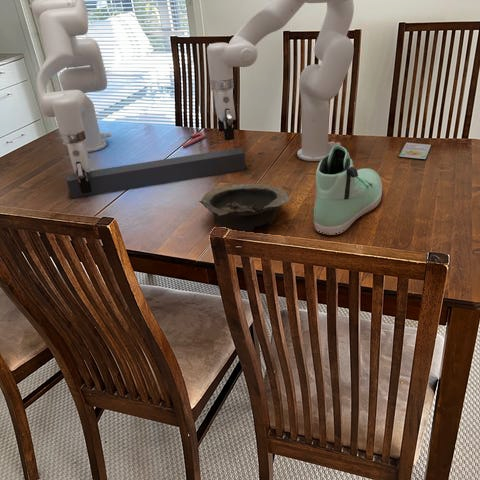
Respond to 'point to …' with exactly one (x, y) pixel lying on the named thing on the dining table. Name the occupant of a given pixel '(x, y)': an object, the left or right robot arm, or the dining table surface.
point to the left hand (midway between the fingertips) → (86, 188)
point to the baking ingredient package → (415, 150)
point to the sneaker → (343, 192)
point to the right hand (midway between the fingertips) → (226, 135)
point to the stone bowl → (244, 205)
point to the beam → (159, 172)
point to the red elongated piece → (201, 136)
